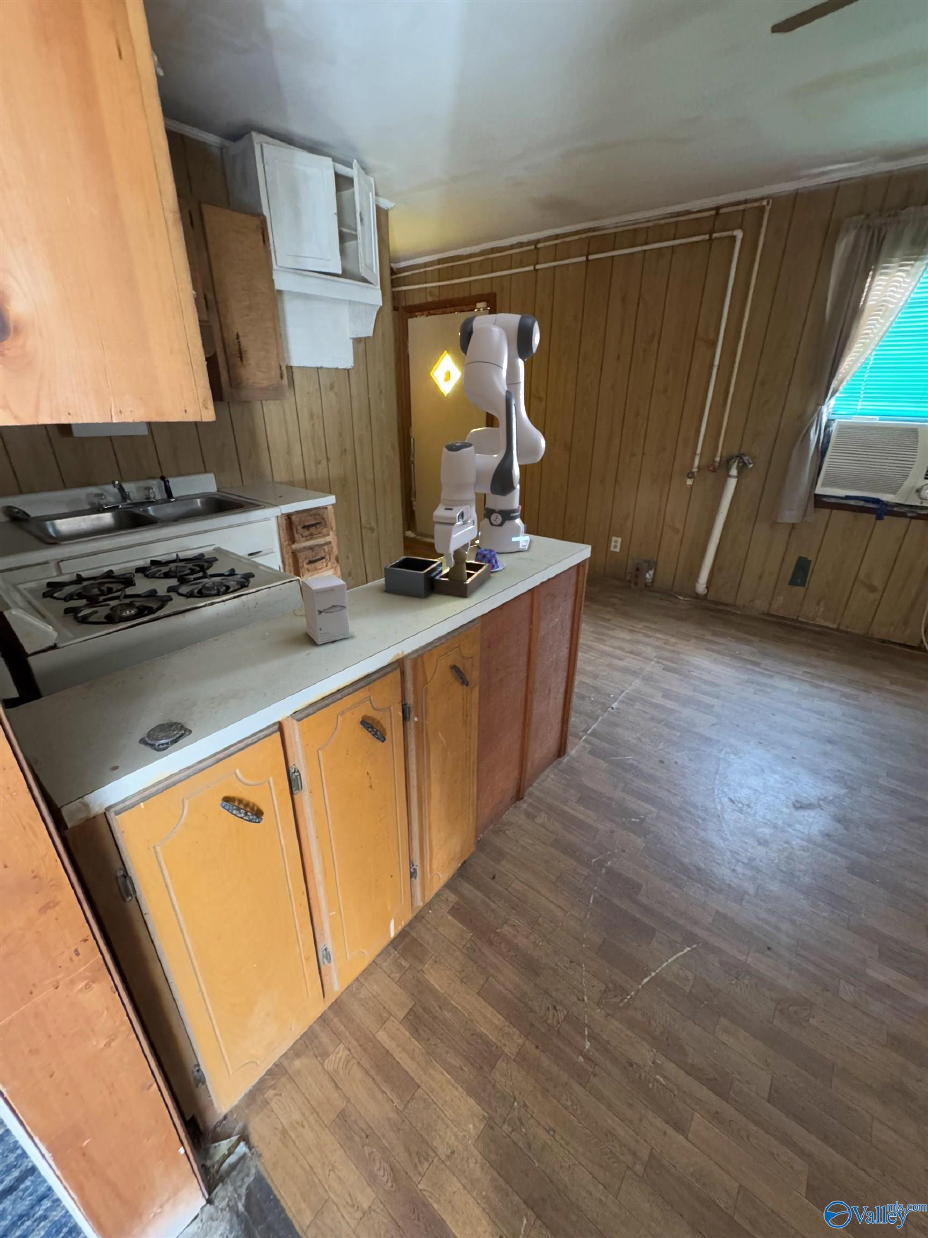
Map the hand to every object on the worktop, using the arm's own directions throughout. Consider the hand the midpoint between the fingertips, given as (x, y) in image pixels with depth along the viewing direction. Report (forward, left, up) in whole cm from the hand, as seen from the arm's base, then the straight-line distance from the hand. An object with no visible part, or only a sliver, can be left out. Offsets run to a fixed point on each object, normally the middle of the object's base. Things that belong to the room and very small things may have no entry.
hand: (457, 561), depth 133 cm
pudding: (-22, 0, -8) cm, 23 cm away
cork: (0, 0, -8) cm, 8 cm away
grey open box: (+3, -11, -8) cm, 14 cm away
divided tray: (-5, 0, -8) cm, 9 cm away
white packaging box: (+37, -15, -8) cm, 41 cm away
